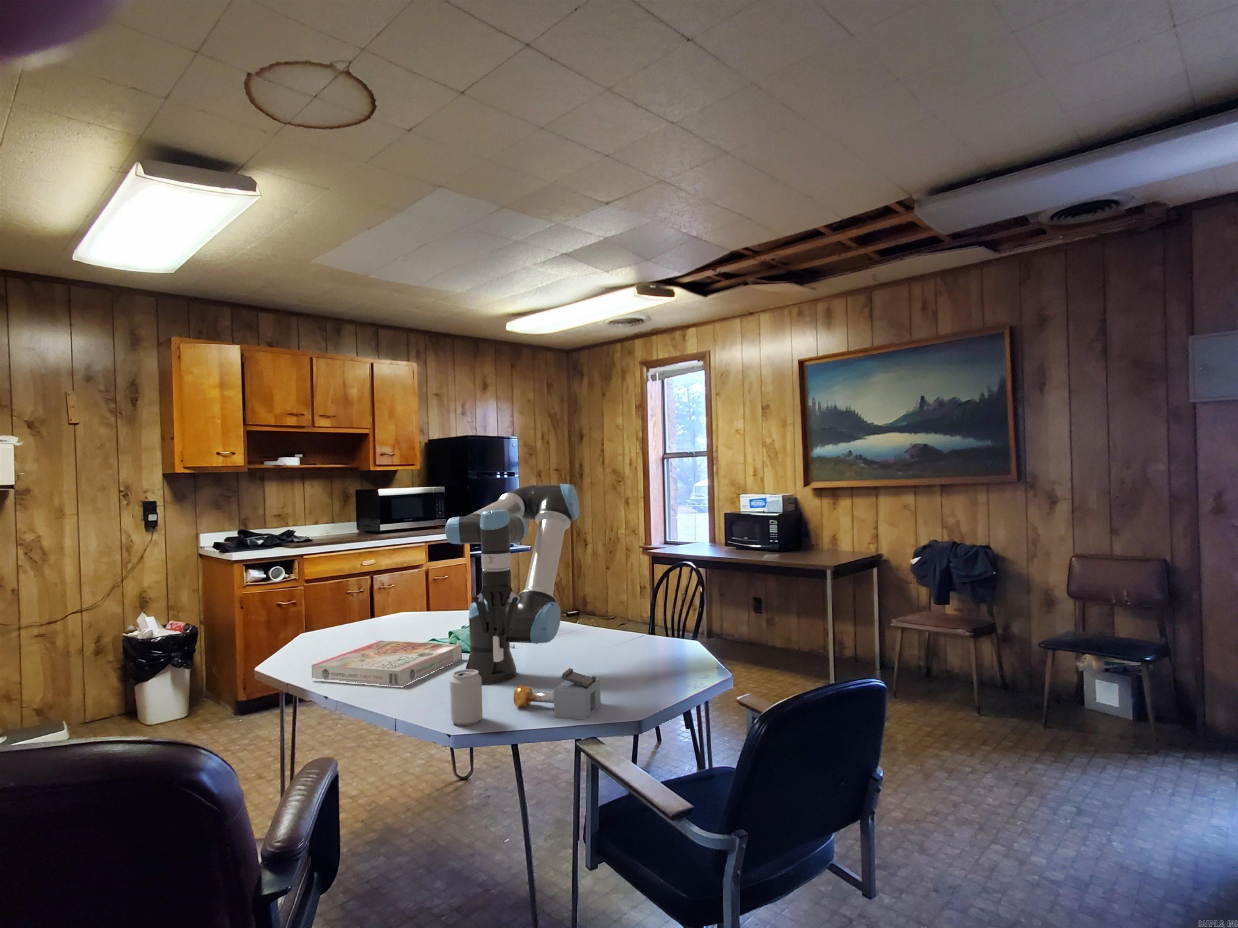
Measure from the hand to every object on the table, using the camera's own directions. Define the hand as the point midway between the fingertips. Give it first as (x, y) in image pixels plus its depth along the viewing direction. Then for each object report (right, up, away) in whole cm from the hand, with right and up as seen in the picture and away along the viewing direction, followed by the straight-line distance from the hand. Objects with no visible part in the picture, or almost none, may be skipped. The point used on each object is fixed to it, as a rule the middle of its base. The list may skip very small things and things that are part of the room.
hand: (498, 660), depth 181 cm
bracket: (+21, -11, -6) cm, 24 cm away
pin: (+11, -11, -3) cm, 16 cm away
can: (-6, -12, -12) cm, 17 cm away
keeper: (+21, -3, -6) cm, 22 cm away
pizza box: (-41, -15, +38) cm, 58 cm away
